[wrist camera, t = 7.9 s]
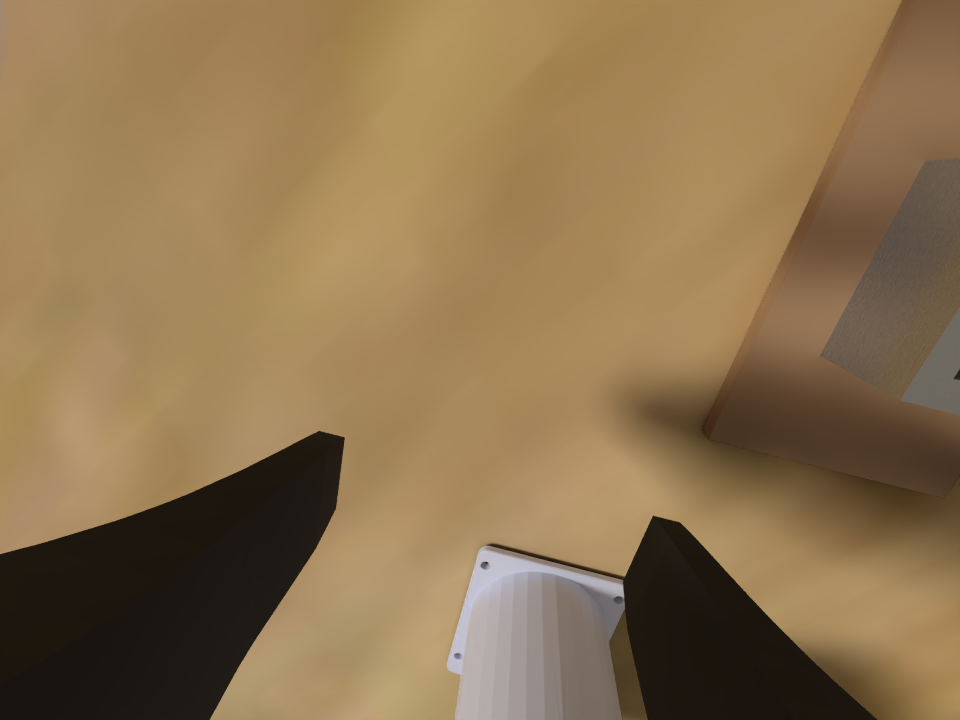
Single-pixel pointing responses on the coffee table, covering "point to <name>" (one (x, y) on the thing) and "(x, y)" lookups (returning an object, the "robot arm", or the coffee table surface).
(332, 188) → the coffee table surface
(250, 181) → the coffee table surface
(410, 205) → the coffee table surface
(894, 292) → the steel link
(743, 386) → the keeper board
